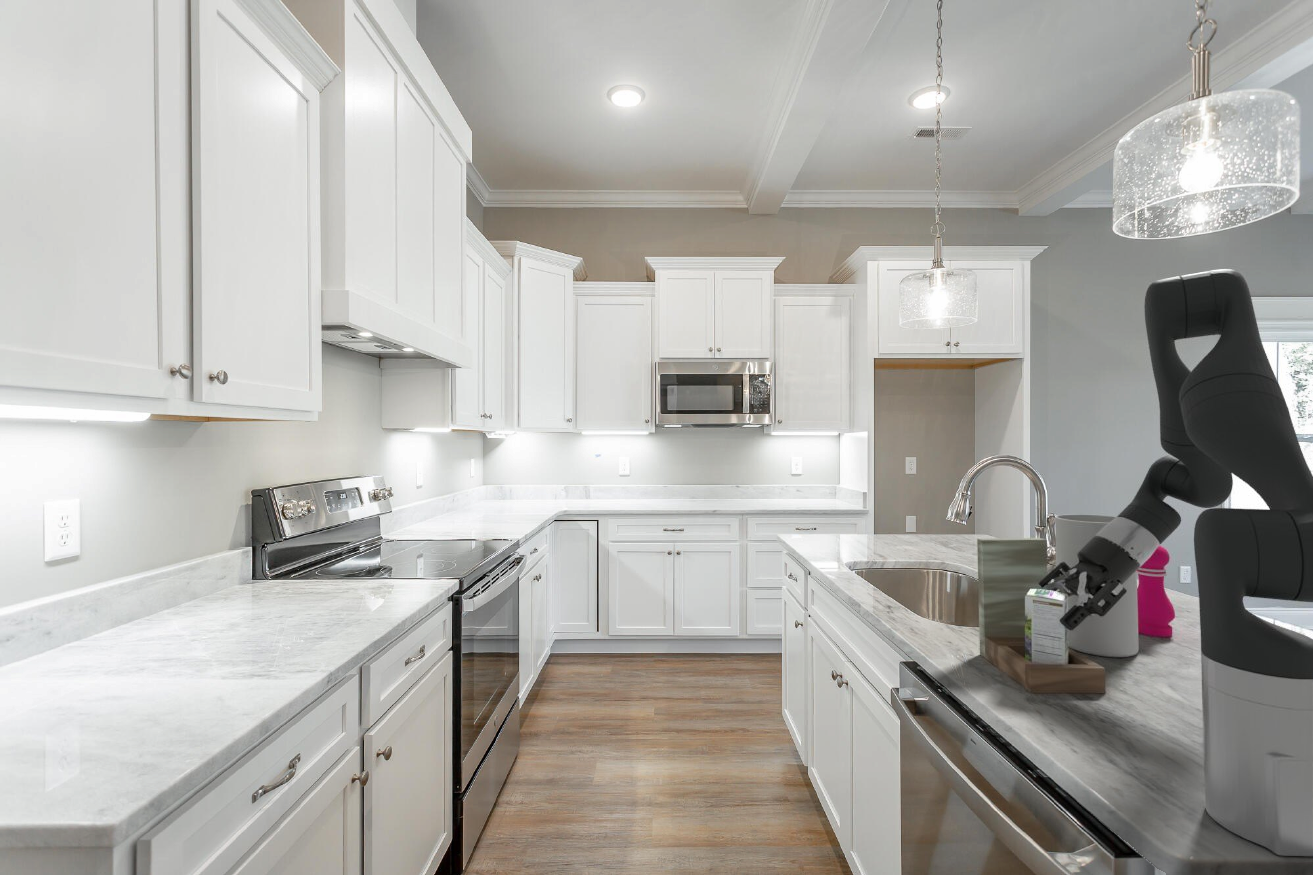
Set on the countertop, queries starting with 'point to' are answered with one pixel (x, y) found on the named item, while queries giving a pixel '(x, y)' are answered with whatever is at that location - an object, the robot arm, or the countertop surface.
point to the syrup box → (1046, 627)
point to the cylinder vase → (1121, 621)
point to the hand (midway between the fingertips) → (1048, 618)
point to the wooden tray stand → (1022, 618)
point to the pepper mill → (1154, 596)
